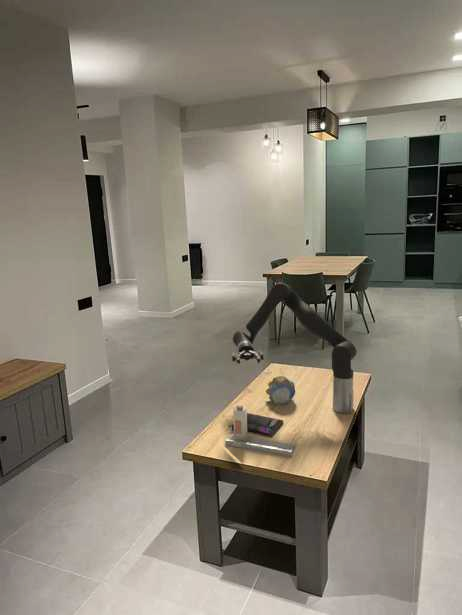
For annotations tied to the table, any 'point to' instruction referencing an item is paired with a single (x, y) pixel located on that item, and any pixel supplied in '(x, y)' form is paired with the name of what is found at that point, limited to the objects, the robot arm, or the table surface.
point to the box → (262, 425)
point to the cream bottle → (240, 424)
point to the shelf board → (269, 443)
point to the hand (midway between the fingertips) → (248, 361)
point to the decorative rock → (281, 390)
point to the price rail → (258, 447)
